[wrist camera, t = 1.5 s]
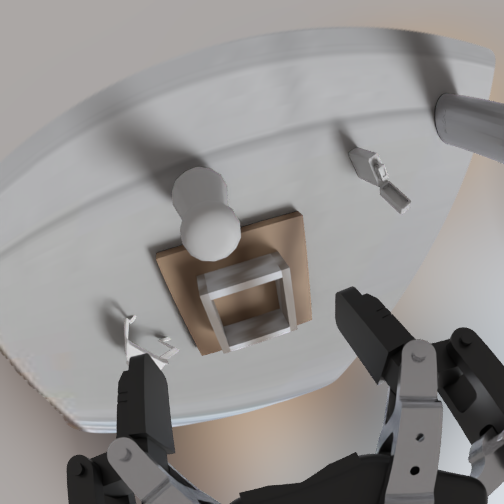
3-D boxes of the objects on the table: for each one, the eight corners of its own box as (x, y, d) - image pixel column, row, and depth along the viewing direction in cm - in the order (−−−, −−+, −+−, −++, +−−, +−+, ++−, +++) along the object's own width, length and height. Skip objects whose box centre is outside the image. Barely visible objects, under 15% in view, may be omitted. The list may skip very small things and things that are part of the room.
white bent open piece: (189, 348, 40) (192, 373, 36) (148, 366, 40) (148, 390, 36) (143, 298, 34) (140, 323, 30) (99, 321, 34) (93, 346, 30)
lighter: (347, 153, 32) (388, 166, 25) (357, 146, 31) (398, 159, 25) (366, 195, 35) (404, 217, 28) (375, 189, 35) (413, 209, 28)
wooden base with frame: (297, 211, 34) (317, 228, 29) (308, 313, 43) (322, 336, 38) (156, 253, 31) (154, 278, 27) (200, 348, 41) (205, 375, 36)
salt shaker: (162, 181, 28) (151, 227, 17) (207, 153, 28) (228, 179, 17) (190, 222, 31) (200, 288, 20) (233, 196, 31) (268, 248, 20)
